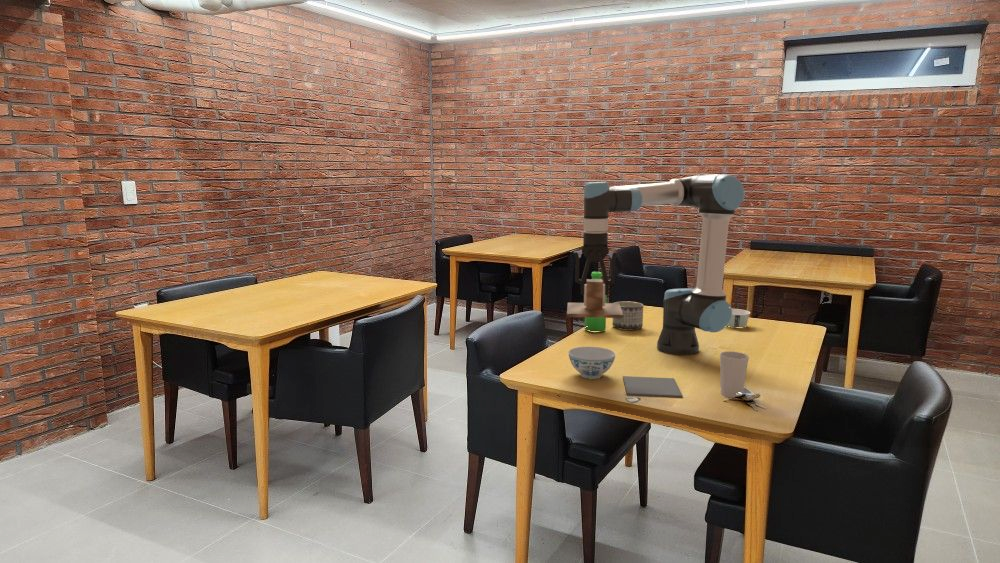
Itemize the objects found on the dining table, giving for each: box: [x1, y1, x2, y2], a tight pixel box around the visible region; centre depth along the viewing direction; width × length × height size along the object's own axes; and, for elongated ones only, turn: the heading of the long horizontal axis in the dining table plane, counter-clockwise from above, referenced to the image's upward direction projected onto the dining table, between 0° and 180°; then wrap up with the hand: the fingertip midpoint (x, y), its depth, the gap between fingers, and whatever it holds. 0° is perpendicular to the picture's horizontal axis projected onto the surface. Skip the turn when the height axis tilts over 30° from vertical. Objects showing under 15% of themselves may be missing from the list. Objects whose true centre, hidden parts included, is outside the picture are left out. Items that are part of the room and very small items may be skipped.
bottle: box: [584, 271, 608, 332], centre depth 256 cm, size 9×9×25 cm
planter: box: [612, 300, 644, 330], centre depth 262 cm, size 13×13×10 cm
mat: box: [622, 375, 684, 398], centre depth 187 cm, size 16×16×1 cm
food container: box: [727, 308, 751, 327], centre depth 267 cm, size 12×12×6 cm
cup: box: [719, 350, 750, 399], centre depth 181 cm, size 8×8×12 cm
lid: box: [566, 278, 623, 319], centre depth 194 cm, size 17×17×10 cm
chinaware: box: [568, 346, 616, 380], centre depth 198 cm, size 15×15×8 cm
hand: (594, 304), depth 195 cm, fingers closed on lid, 5 cm apart
